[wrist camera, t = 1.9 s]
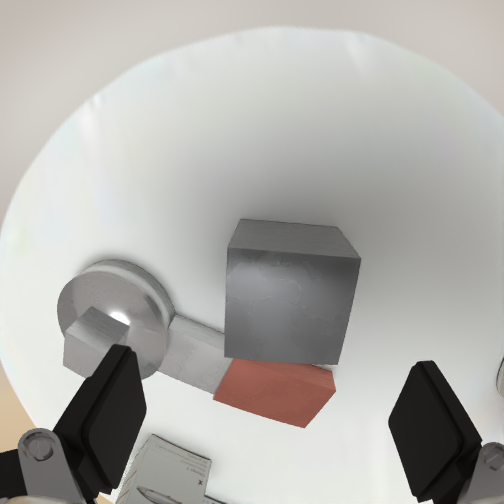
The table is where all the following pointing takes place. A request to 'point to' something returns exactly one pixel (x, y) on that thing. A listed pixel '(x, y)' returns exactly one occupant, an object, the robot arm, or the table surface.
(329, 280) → the brushed grey cube
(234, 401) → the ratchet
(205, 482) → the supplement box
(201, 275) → the table surface
